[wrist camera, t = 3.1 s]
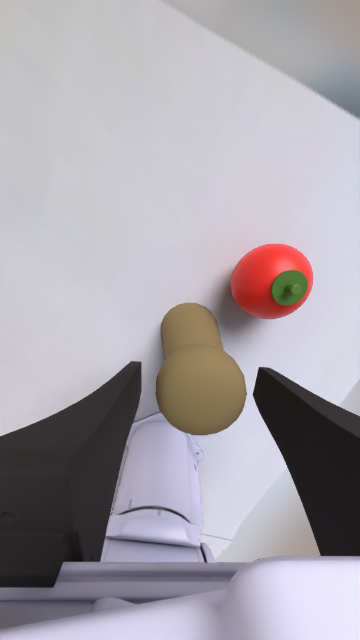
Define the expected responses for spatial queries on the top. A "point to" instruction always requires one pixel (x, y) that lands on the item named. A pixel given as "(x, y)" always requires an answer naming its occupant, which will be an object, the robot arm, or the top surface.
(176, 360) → the tan rounded tall piece
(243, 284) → the tomato
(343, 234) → the top surface
